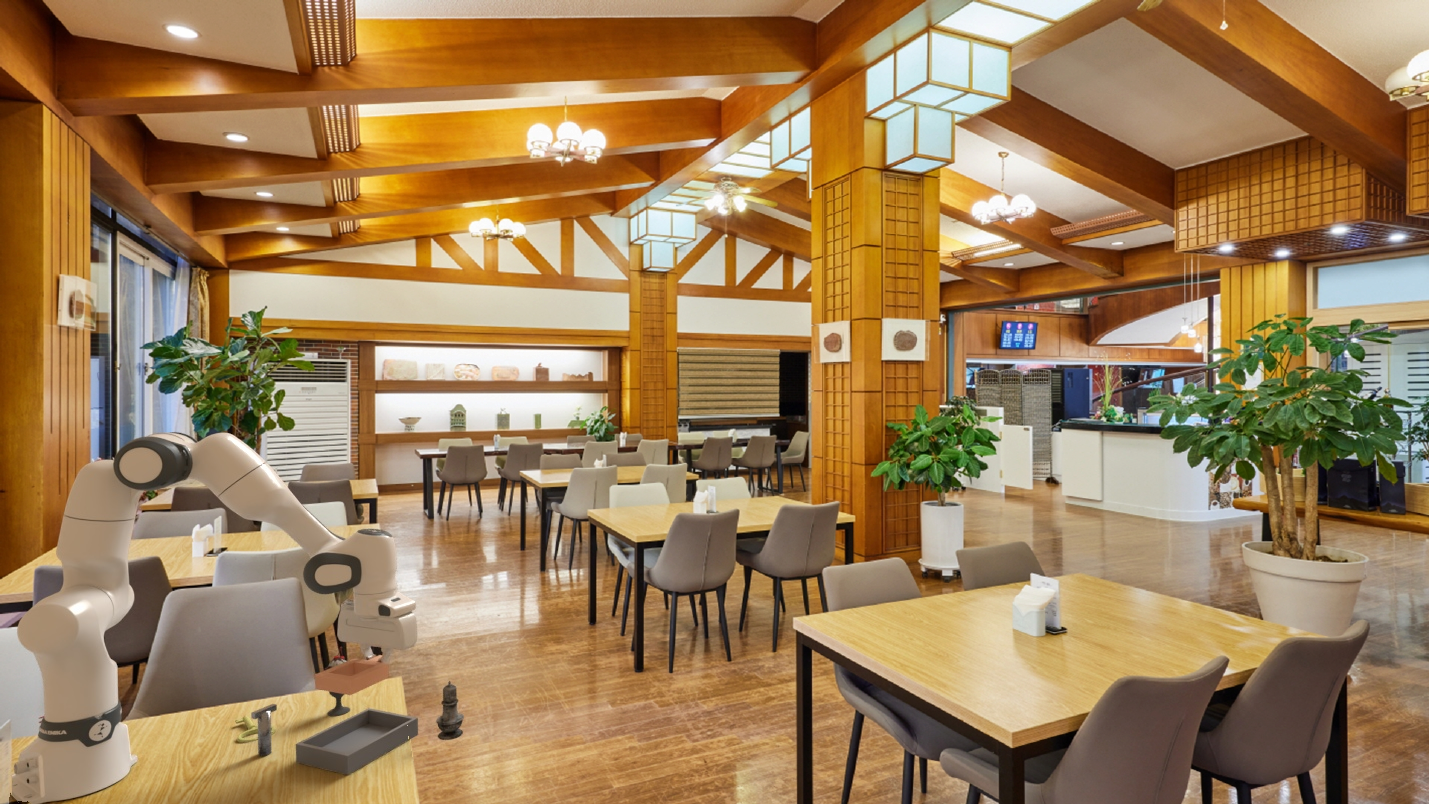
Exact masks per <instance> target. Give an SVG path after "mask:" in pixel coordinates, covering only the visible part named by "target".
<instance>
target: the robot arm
mask: <svg viewBox="0 0 1429 804" xmlns="http://www.w3.org/2000/svg"><path fill="white" fill-rule="evenodd" d="M187 480H195V481H198V482H200V483H201V484H202V485H204V486H206V487H207V488H208V490H210V491H211V493H213V494H214V495H215V496H216V497H217V498H218V499H219V500H220V502H222V504H224V506H226V507H227V508H228V509H229V510H230V511H232V512H233V513H236V514H237V515H238V516H240V517H241V518H242V519H245V520H249V521H257V522H264V523H268V524H271V525H273V526H276V527H277V528H279V529H281V530H282V531H283V532H285V533H286V534H287V535H288V536H289V537H290V538H291V539H292V540H293V541H294V542H296V544H297V545H299V546H300V547H301V548H302V549H303V550H304V551H305V552H306V553H307V555H308V556H309V560H308V561H307V562H306V563H305V566H304V568H303V572H302V577H303V581H304V584H305V585H306V587H308V589H309V590H311V592H314V593H316V594H319V595H330V594H336V593H340V592H343V591H347V590H350V589H353V591H352V592H353V599H351V598H347V599H345V600H344V601H343V602H342V603H341V604H340V612H339V615H338V620H337V638H338V640H339V641H340V642H344V643H351V644H357V645H359V649H360V651H361V653H362V655H363V657H364V660H369V659H372V658H374V657H376V656H377V654H374V653H373V650H372V647H376V648H377V647H378V648H381V650H380V651H381V652H382V657H381V658H379V659H378V662H381V663H387V664H389V665H390V657H391V656H392V654H393V652H394V650H397V651H406V650H409V649H411V648H413V647H415V646H416V644H417V642H418V621H417V616H416V614H415V613H414V612H413V611H416V607H417V603H416V601H415V600H414V599H413V598H410V597H408V596H407V595H405V594H403V593H402V592H401V591H398V582H397V579H396V573H397V568H398V561H397V559H398V556H397V547H396V543H395V539H394V537H393V535H392V534H391V533H390V532H389V531H386V530H383V529H378V528H362V529H359V530H357V531H355V533H353V534H351V535H350V536H349V537H347V538H346V537H343V536H340V535H338V534H335V533H334V532H332V531H331V530H329V528H328V527H327V526H325V524H323V523H322V522H321V521H320V520H319V519H318V518H317V517H316V516H315V515H314V514H313V513H311V511H310V510H308V508H307V507H305V506H304V505H303V504H302V503H301V502H300V501H299V500H298V498H297V497H296V496H295V494H293V493H292V491H291V489H289V487H288V486H287V485H286V483H285V482H284V481H283V479H282V478H281V477H280V476H279V474H278V473H277V472H276V470H275V469H273V467H272V466H271V465H270V464H269V463H268V462H267V461H266V460H265V459H264V458H263V457H262V456H261V455H259V453H257V452H256V451H255V450H254V449H253V448H251V446H249V445H248V444H247V443H245V442H244V441H243V440H241V439H240V438H238V437H237V436H235V435H234V434H231V433H228V432H216V433H213V434H210V435H208V436H206V437H204V438H202V439H201V440H199V441H198V440H196V439H195V438H194V437H193V436H191V435H188V434H187V433H186V434H185V433H182V432H179V431H174V432H157V433H156V432H155V433H152V434H149V435H146V436H141V437H137V438H135V439H132V440H130V441H128V442H127V443H125V444H124V445H123V446H122V447H121V448H119V450H118V451H117V452H116V454H115V456H114V459H100V460H95V461H92V462H89V463H87V464H85V465H84V466H82V467H81V468H80V470H79V471H78V473H77V475H76V477H75V478H74V482H73V484H72V486H71V488H70V492H69V494H68V497H67V500H66V503H65V509H64V512H63V516H62V521H61V524H60V525H61V527H60V530H59V531H60V532H59V535H58V540H57V545H56V550H55V553H56V557H57V558H58V560H59V561H60V563H61V565H62V576H63V582H62V583H63V584H62V586H61V589H60V590H59V591H58V592H55V593H53V594H51V595H49V596H46V597H44V598H43V599H41V600H39V601H38V602H37V603H36V604H34V605H33V606H32V607H30V609H28V611H27V612H25V614H23V616H22V617H21V618H20V620H19V622H18V625H17V632H16V634H17V639H18V641H19V643H20V644H21V645H22V646H23V648H25V650H27V651H29V652H30V653H32V654H33V655H34V658H35V661H36V662H37V665H38V668H39V671H40V675H41V679H42V685H43V688H42V689H43V712H44V713H43V714H44V715H43V716H40V717H38V719H41V720H40V721H38V723H39V724H40V725H39V727H38V734H37V737H36V738H35V739H34V740H33V741H32V742H31V743H30V744H29V745H27V747H25V748H24V749H23V750H22V751H20V753H19V754H18V762H15V763H14V764H13V772H14V773H13V774H11V775H12V795H11V796H12V797H13V798H14V800H16V801H17V802H18V801H22V802H27V801H28V802H30V803H31V804H43V803H44V804H45V803H47V802H57V801H63V800H70V799H73V798H79V797H83V796H86V795H89V794H92V793H95V792H97V791H100V790H104V789H105V788H108V787H109V786H110V787H111V786H112V785H113V784H115V783H117V782H119V781H121V780H122V779H124V778H125V777H126V776H127V775H128V774H129V772H130V770H131V767H132V766H133V765H135V764H136V763H137V761H138V755H136V754H131V743H130V737H129V736H130V735H129V728H128V725H127V724H126V723H124V722H121V721H122V712H123V711H122V710H123V708H122V706H121V705H122V703H121V701H120V700H119V688H118V687H119V683H118V682H119V681H118V679H119V678H118V677H119V676H118V673H119V672H118V669H119V668H118V665H117V662H116V661H115V660H113V659H111V657H110V655H109V652H108V649H107V647H106V644H105V639H104V637H105V632H106V631H108V630H109V629H111V628H112V627H114V626H116V625H117V624H119V622H121V621H122V619H124V617H125V616H126V615H127V614H128V613H129V612H130V610H131V609H132V607H133V605H134V603H135V592H134V589H133V587H132V586H131V585H130V576H129V575H130V574H129V553H130V546H131V540H132V536H133V531H134V525H135V521H136V515H137V510H138V505H139V502H140V499H141V497H142V495H143V494H144V492H150V491H151V492H152V491H157V490H161V489H167V488H169V487H173V486H176V485H178V484H179V483H181V482H184V481H187Z"/></svg>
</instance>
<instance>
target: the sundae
mask: <svg viewBox="0 0 1429 804" xmlns="http://www.w3.org/2000/svg"><path fill="white" fill-rule="evenodd" d="M342 649H343V646H340V647H339V652H338V653H337V655H334V657H333V659H332V660H330V662H329V664H328V666H326V667H324V670H323V671H325V670H327V669H330V668H332V667H335V666H337V665H340V664H342V663H345V662H347V661H348V660H345V656H344V655H343V650H342ZM339 654H341V656H340V655H339ZM328 692H329V693H328V694H329V695H330V696H331V697H333V698H334V699H335V707H333V708H332V709H329V710H328V711H327V716H330V717H337V716H344V715H345V714H347V713H349V712H350V711H351V708H350V707H349V706H343V705H342V697H343V696H345V695H346V694H341V693H335V692H330V691H328Z"/></svg>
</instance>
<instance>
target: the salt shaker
mask: <svg viewBox="0 0 1429 804" xmlns="http://www.w3.org/2000/svg"><path fill="white" fill-rule="evenodd" d="M457 697H458V696H457V686H456V685H455V684H452V682H451V681H450V680H449V681H448V682H447V685H445V686H444V687H443V689H442V701H441V702H440V703H441V705H442V714H441V715H440V716H439V717H437V719H436V720H435V723H436V724H437V726H438V729H439V730H440V731H441V732H439V733H438V734H437V738H438V739H439V740H440V741H451V740H454V739H457V738H460V737H461V736H462V735H463V733H464V731H463V730H462V729H460V728H461V727H462V725H463V723H464V722H463V720H464V719H465V715H464V714H462V713H460V712H459V711H458V703H459V699H458V698H457Z"/></svg>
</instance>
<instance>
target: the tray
mask: <svg viewBox="0 0 1429 804" xmlns="http://www.w3.org/2000/svg"><path fill="white" fill-rule="evenodd" d="M407 725H408V726H407ZM418 735H419V717H415V716H411V715H410V716H409V715H405V714H400V713H395V712H389V711H386V710H379V709H375V708H369V707H368V708H366V709H364V710H362V711H360V712H359V713H355V715H352V716H349V717H348V718H346V719H344V720H342V721H340V722H338V723H336V724H334V725H332V726H330V727H328V728H326V729H324V730H322V731H319V732H318V733H316V734H313V735H311V736H309V737H307V738H305V739H303V740H301V741H299V742H297V743H295V763H297V764H301V765H305V766H310V767H314V768H318V769H322V770H325V771H330V772H334V773H338V774H342V775H346V776H349V775H351V774H353V773H354V772H356V771H359V770H360V769H362V768H363V767H365V766H367V765H368V764H370V763H372V762H373V761H375V760H377V759H378V758H380V757H382V756H384V755H385V754H387V753H389V752H391V751H393V750H394V749H396V748H398V747H400V746H402V745H403V744H405V743H406V742H409V740H408V736H409V739H410V740H412V739H414V738H415V737H417V736H418Z"/></svg>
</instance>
